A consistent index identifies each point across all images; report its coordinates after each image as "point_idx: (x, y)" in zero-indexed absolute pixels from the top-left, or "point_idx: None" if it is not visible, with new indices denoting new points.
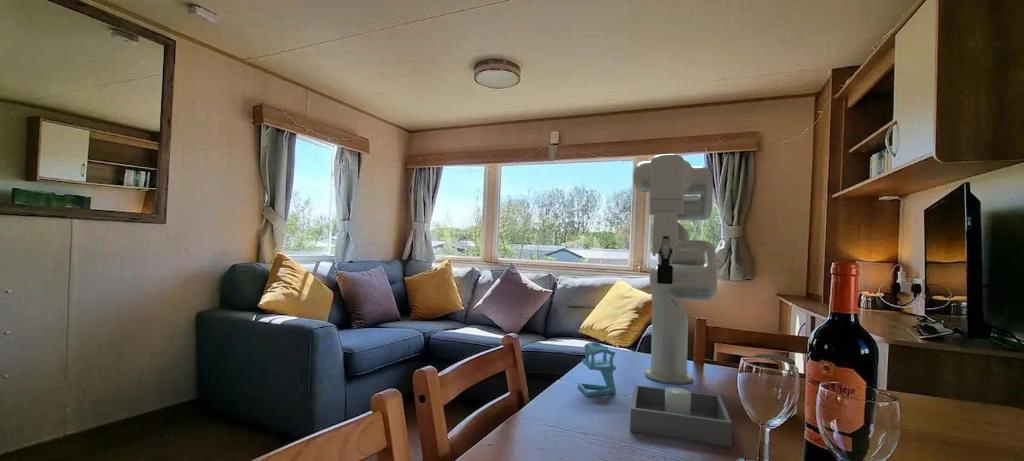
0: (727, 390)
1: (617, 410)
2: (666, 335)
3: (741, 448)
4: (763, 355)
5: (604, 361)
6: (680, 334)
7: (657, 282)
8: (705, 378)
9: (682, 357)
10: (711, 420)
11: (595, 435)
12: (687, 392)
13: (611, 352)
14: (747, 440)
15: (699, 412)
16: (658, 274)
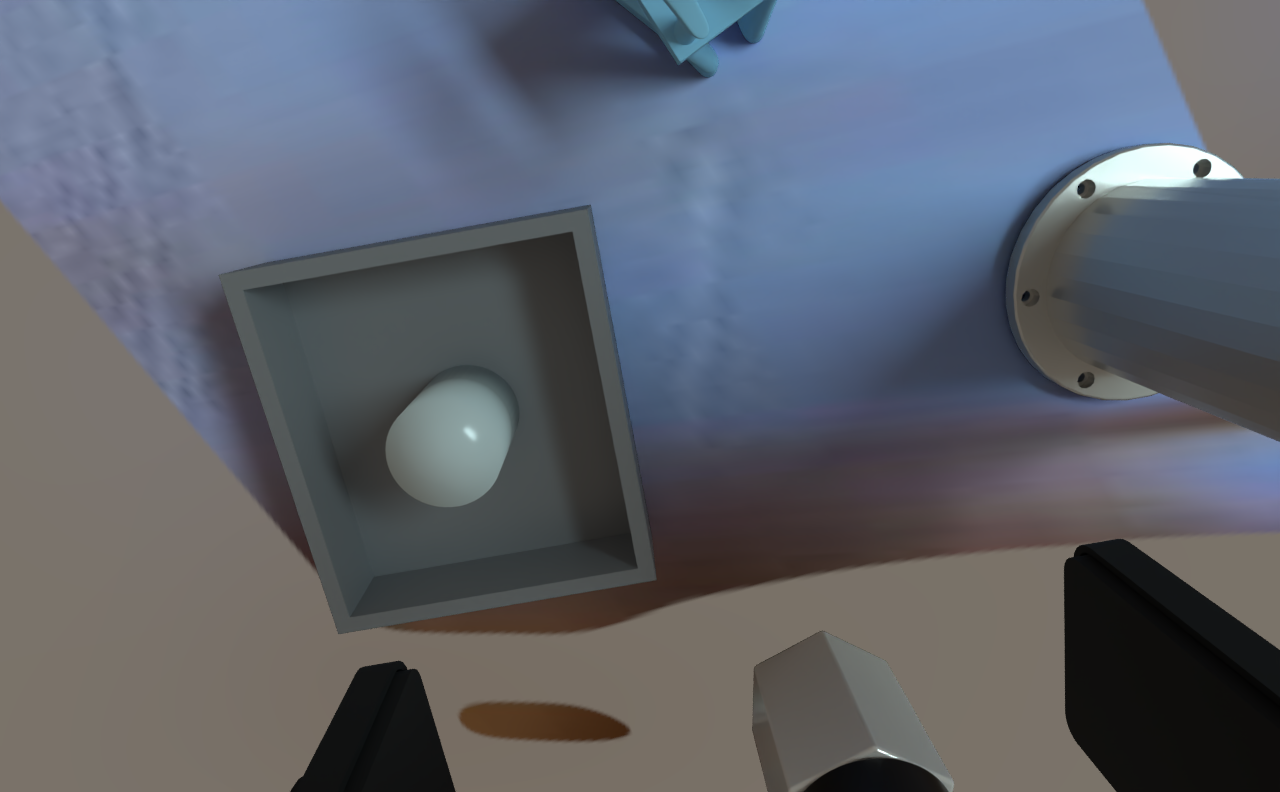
0: (1022, 543)
1: (467, 152)
2: (1228, 320)
3: None
4: None
5: None
6: (1254, 418)
7: (362, 668)
8: (1187, 443)
9: (1149, 385)
10: (318, 572)
11: (134, 145)
12: (452, 493)
13: (675, 14)
14: (466, 625)
15: (618, 475)
16: (317, 780)
